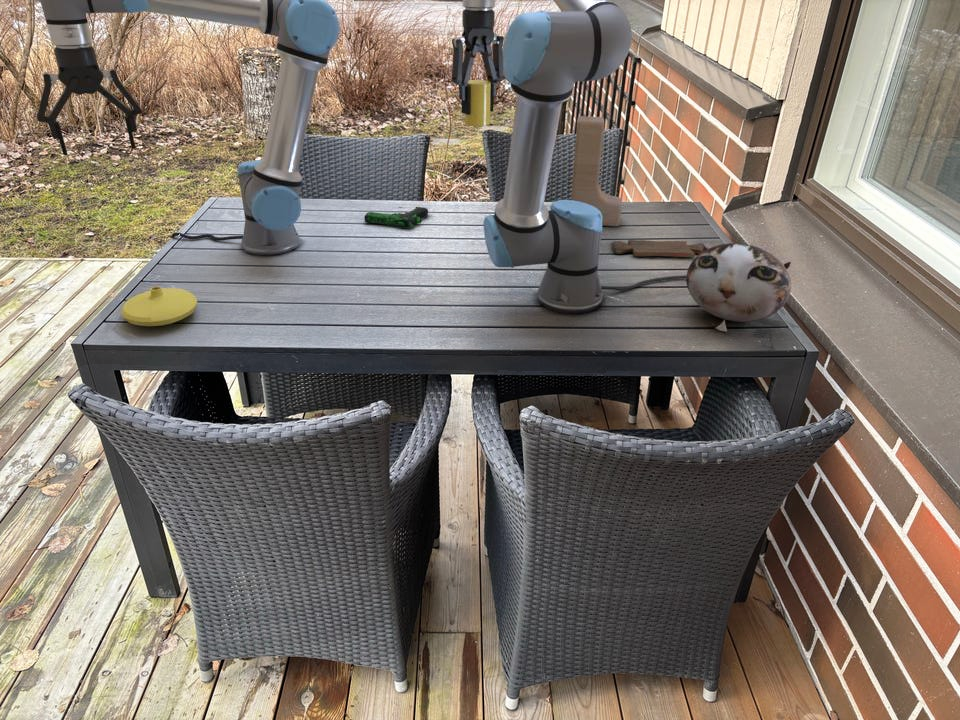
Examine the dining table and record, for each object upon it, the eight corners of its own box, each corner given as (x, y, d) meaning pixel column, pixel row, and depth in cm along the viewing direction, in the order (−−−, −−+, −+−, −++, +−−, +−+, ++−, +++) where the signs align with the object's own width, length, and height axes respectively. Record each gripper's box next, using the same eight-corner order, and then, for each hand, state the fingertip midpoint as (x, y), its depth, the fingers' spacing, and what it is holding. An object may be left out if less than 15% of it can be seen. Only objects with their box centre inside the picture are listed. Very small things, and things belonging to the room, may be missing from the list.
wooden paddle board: (710, 260, 193) (701, 246, 201) (711, 254, 192) (702, 240, 200) (615, 256, 193) (610, 243, 202) (615, 250, 192) (611, 237, 201)
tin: (471, 127, 175) (471, 85, 170) (460, 122, 180) (460, 80, 175) (494, 125, 177) (495, 83, 172) (483, 120, 182) (483, 79, 177)
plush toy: (664, 307, 155) (693, 222, 157) (679, 329, 171) (705, 252, 172) (770, 332, 145) (800, 241, 146) (775, 353, 160) (802, 271, 162)
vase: (172, 295, 169) (166, 268, 165) (214, 314, 161) (208, 285, 157) (109, 320, 158) (101, 291, 154) (150, 341, 150) (143, 311, 146)
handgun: (434, 207, 218) (411, 221, 205) (434, 217, 219) (411, 231, 207) (387, 201, 223) (362, 214, 211) (387, 210, 224) (363, 224, 212)
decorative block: (619, 227, 213) (632, 123, 197) (569, 224, 214) (577, 121, 199) (618, 218, 219) (630, 117, 204) (569, 215, 221) (577, 115, 205)
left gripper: (2, 51, 139) (35, 161, 149) (140, 45, 149) (162, 148, 159) (3, 46, 144) (35, 152, 155) (137, 41, 154) (158, 140, 165)
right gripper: (502, 6, 173) (499, 105, 185) (434, 9, 163) (436, 113, 175) (521, 8, 168) (517, 110, 179) (452, 11, 158) (453, 119, 170)
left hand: (100, 150), depth 157 cm, fingers open, 13 cm apart
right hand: (477, 111), depth 177 cm, fingers closed on tin, 6 cm apart
